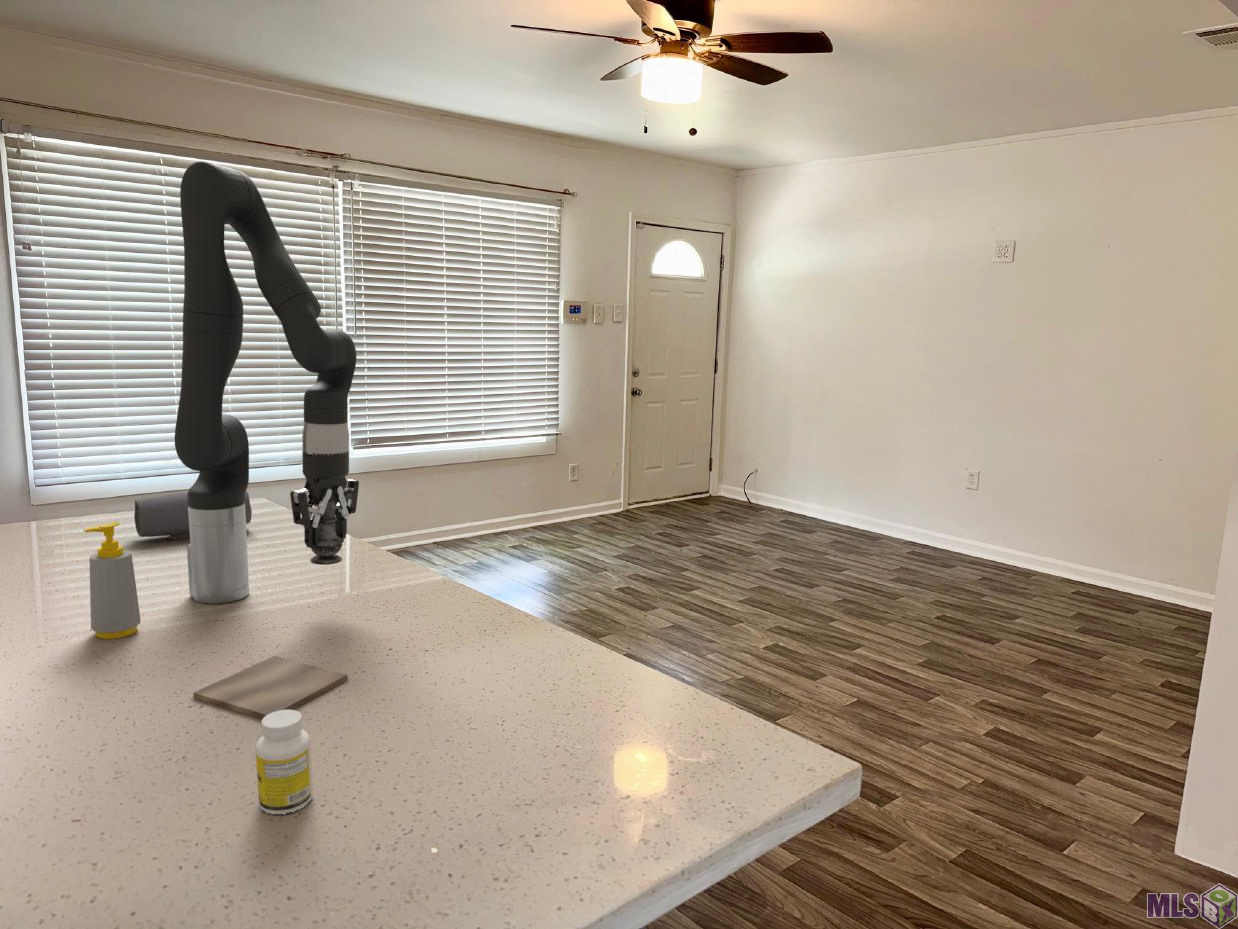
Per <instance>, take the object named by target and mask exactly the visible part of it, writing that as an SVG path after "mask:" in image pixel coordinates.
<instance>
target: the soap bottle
mask: <svg viewBox="0 0 1238 929" xmlns="http://www.w3.org/2000/svg"><path fill="white" fill-rule="evenodd" d="M119 525H120V522H118V521H117V522H112V523H109V524H104V525H99V526H93V527H88V528H86V529H84V530H83V531H84V532H85V533H93V532H94V533H95V532H96V533H103V536H104V537H105V540H103V541H101V543H100V545H101V547H98V548H97V552H95V553H92V554H91V555H90V556H89V561H88V562H89V593H90V594H89V597H90V598H89V599H90V600H89V601H90V604H89V605H90V629H91V630H92V631H93V632H94V633H95V636H96V637H97V638H99V639H104V640H113V639H121V638H123V637H128V636H129V635H133V634H134V633H136V631H137V628H138V625H140V624H141V622H142V621H141V614H140V612H141V611H140V606H139V599H138V589H137V583H136V575H135V568H134V562H133V554H132V552H131V551H130V550H126V549H124V547H123V546H122V545H119V541H118V540H117V539H114V535H115V527H118V526H119Z"/></svg>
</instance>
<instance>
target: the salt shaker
mask: <svg viewBox="0 0 1238 929" xmlns="http://www.w3.org/2000/svg"><path fill="white" fill-rule="evenodd" d="M336 520H337V518H336V517H335V503H334V502H333V501H331V502H329V503H328V504H327V505H326V509H325V512H324V514H323V515H321V517H320V520H319V523H318V526H317V527H319V546H318V548H314V549H313V548H310V549H311V551H312V552H313V554H315V555H314V556H312V557H311V558H310V559H309V561H310V563H312V564H315V565H320V566H321V565H323V566H327V565H328V566H329V565H334V564H338V563H340V562H343V561H342V560H343V558H342V556H340V555H338V553H339V552H340V551H341V549H342V546H343V543H344V542H345V539H343V538H341V537H338V536H337V535H336V531H335V521H336Z"/></svg>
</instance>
